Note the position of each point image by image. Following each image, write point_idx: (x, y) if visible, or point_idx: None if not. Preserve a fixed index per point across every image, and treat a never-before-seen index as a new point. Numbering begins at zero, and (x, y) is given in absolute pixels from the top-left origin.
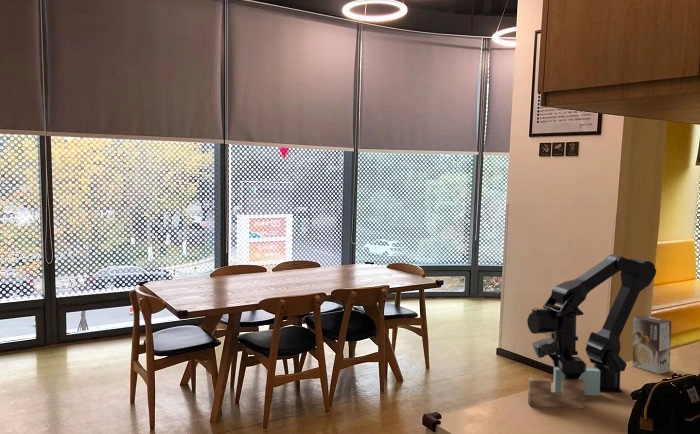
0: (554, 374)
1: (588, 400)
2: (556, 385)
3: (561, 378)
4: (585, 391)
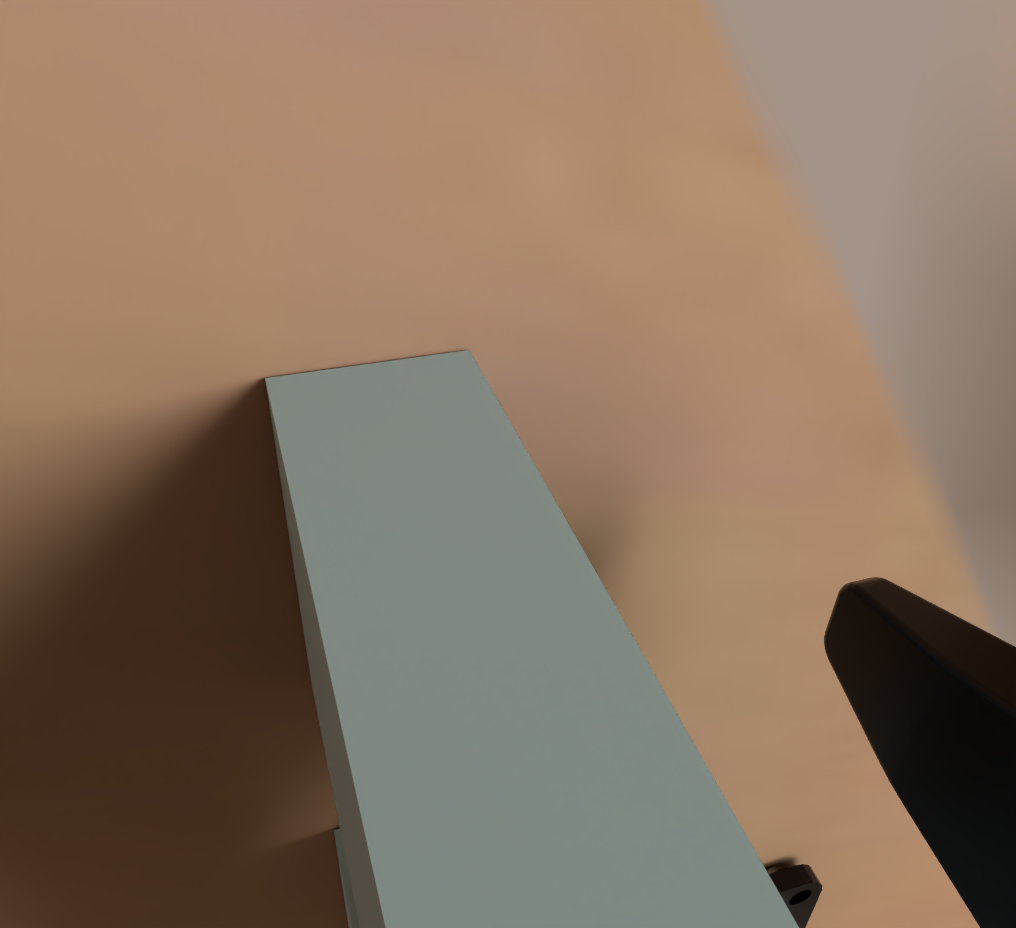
0: (574, 831)
1: (62, 910)
2: (310, 575)
3: (370, 919)
4: (349, 918)
